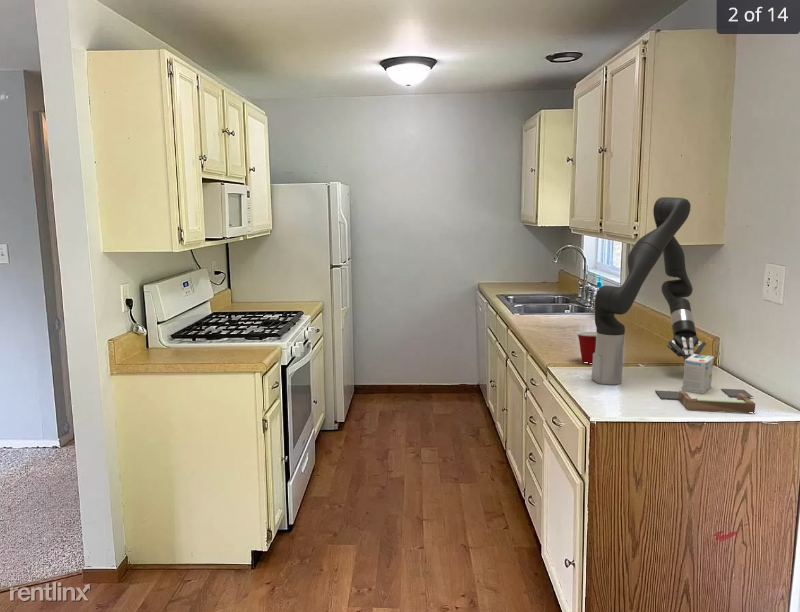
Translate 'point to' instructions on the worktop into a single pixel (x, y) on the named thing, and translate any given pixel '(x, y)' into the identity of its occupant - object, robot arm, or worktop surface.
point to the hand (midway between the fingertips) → (690, 366)
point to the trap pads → (675, 394)
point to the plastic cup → (587, 345)
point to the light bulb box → (698, 373)
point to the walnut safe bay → (717, 403)
